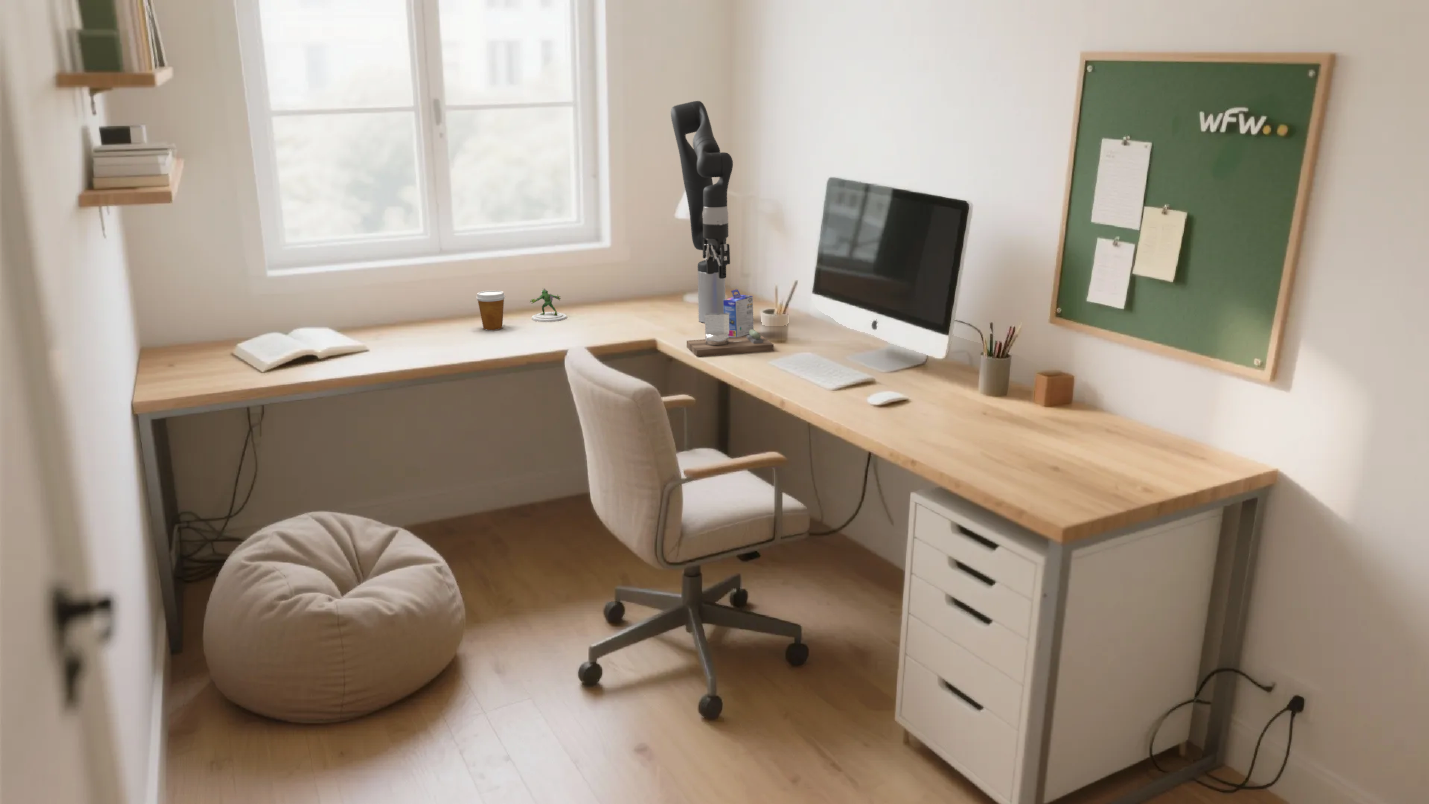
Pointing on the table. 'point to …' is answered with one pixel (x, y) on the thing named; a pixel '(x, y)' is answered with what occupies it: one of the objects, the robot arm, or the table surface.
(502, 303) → the disposable coffee cup
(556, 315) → the monster figurine
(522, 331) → the table surface
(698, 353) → the board
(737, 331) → the ink cartridge box
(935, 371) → the table surface
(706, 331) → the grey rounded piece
